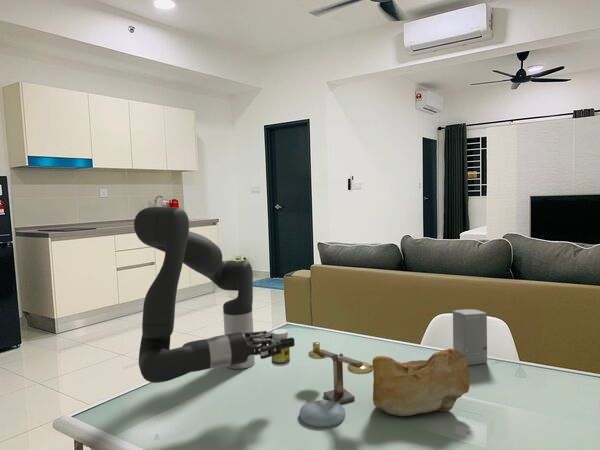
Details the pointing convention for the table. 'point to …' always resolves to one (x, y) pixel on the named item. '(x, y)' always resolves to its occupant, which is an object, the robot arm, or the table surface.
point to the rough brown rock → (420, 383)
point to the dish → (322, 413)
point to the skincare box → (470, 335)
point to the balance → (340, 372)
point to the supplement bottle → (284, 356)
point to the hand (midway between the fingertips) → (289, 338)
